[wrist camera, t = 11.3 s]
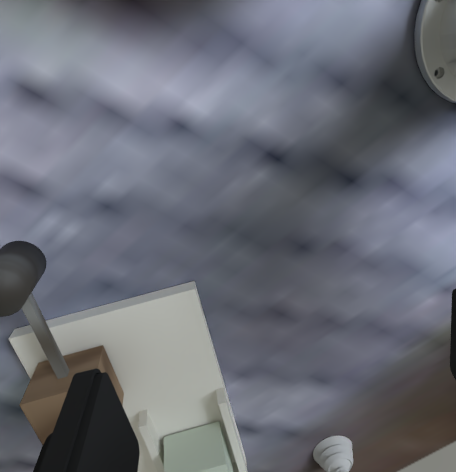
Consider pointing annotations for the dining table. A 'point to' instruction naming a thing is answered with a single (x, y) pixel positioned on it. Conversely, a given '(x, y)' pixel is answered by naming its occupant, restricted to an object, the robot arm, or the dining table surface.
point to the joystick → (43, 340)
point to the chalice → (334, 454)
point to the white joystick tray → (156, 376)
